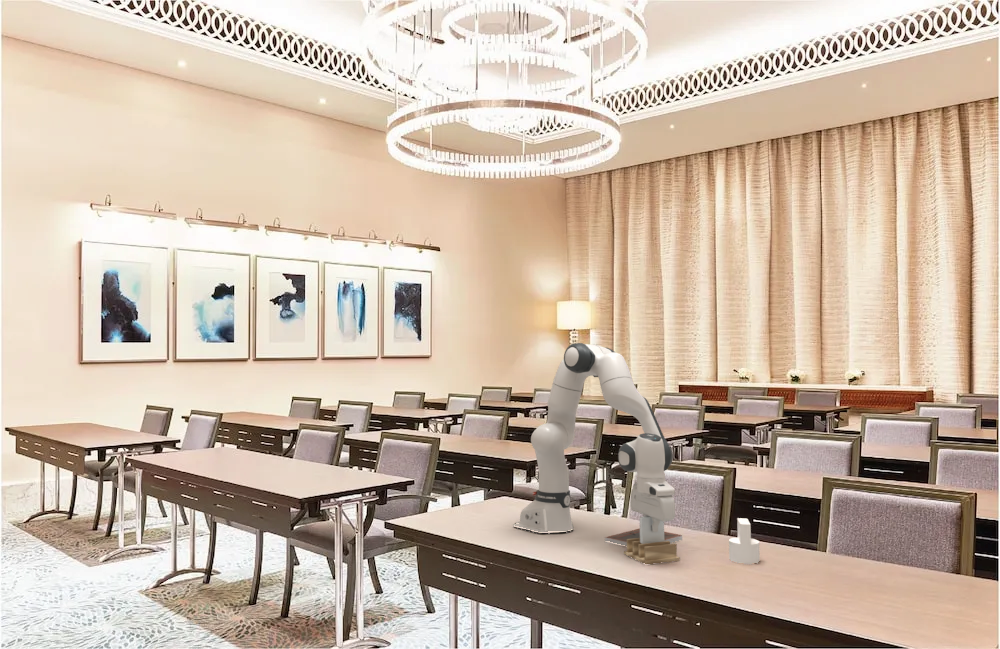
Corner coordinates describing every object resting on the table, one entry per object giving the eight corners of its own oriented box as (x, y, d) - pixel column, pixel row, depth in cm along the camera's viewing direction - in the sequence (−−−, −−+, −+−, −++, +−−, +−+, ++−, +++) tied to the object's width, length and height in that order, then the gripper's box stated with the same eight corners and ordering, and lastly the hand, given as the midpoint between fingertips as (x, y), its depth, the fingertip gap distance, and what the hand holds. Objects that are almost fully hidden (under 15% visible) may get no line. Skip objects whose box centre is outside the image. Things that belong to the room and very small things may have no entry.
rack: (624, 554, 241) (623, 538, 242) (656, 550, 246) (656, 535, 246) (646, 564, 229) (646, 548, 230) (679, 560, 234) (679, 544, 234)
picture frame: (644, 553, 246) (682, 541, 260) (644, 545, 246) (682, 534, 261) (604, 544, 258) (643, 533, 273) (604, 536, 258) (643, 526, 273)
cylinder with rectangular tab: (761, 565, 229) (761, 525, 230) (730, 563, 231) (730, 523, 231) (757, 557, 238) (757, 518, 238) (727, 555, 240) (727, 517, 240)
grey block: (640, 542, 237) (639, 516, 237) (661, 540, 240) (661, 514, 240) (642, 543, 236) (642, 517, 236) (664, 541, 239) (663, 515, 239)
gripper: (625, 481, 247) (625, 524, 247) (660, 491, 228) (661, 538, 228) (641, 480, 249) (642, 522, 249) (678, 490, 230) (679, 536, 230)
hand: (651, 530), depth 238 cm, fingers closed on grey block, 1 cm apart
